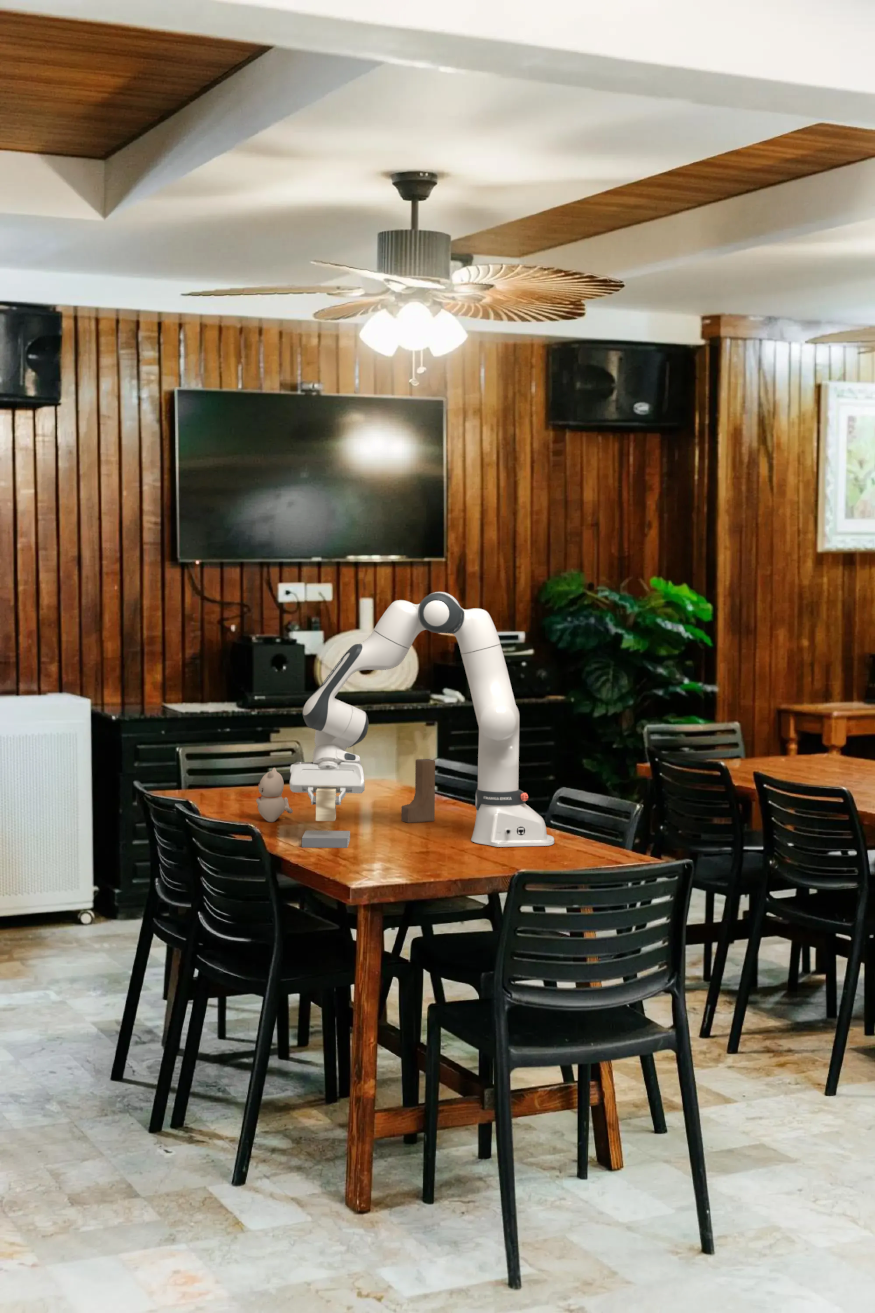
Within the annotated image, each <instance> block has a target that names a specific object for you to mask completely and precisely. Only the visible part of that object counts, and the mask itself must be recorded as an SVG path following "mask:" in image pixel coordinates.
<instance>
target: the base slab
mask: <svg viewBox="0 0 875 1313" xmlns="http://www.w3.org/2000/svg"><path fill="white" fill-rule="evenodd" d="M350 841H351V831H350V830H305V831H304V833H303V835H302V837H301V848H318V849H319V848H325V849H326V848H327V849H329V848H332V849H337V848H338V849H341V848H343V849H348V847H349V846H350V845H349V844H350Z"/></svg>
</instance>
